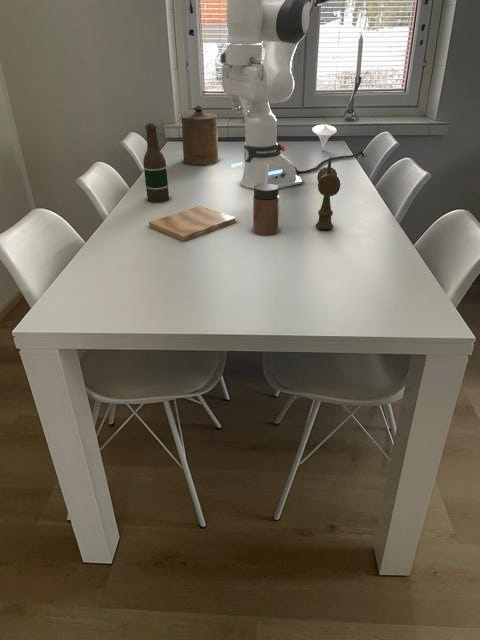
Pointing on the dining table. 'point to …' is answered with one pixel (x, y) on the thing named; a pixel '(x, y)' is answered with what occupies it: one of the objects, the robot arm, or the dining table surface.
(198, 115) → the wooden container
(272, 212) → the jar
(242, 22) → the robot arm
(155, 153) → the beer bottle
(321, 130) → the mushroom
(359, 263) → the dining table surface
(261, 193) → the lid
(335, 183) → the kendama
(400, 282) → the dining table surface
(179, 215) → the board
